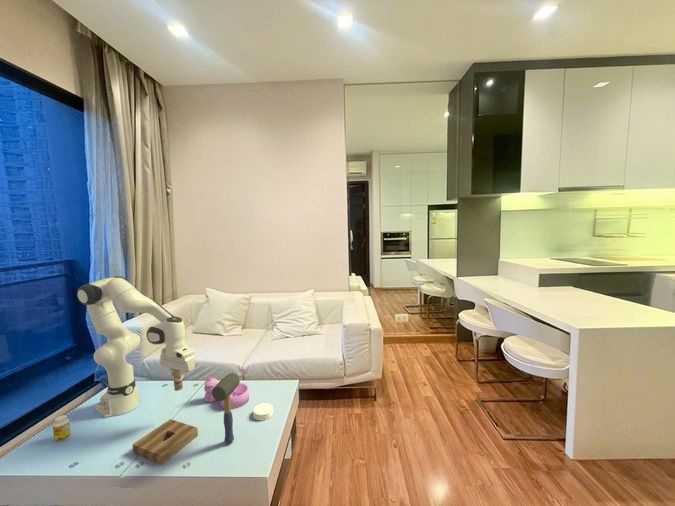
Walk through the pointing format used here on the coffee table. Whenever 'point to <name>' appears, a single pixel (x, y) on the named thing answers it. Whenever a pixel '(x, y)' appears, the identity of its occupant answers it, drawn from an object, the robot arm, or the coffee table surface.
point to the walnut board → (163, 450)
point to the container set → (236, 397)
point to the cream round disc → (263, 411)
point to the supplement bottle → (61, 428)
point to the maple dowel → (177, 380)
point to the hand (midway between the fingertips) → (177, 376)
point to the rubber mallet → (226, 402)
